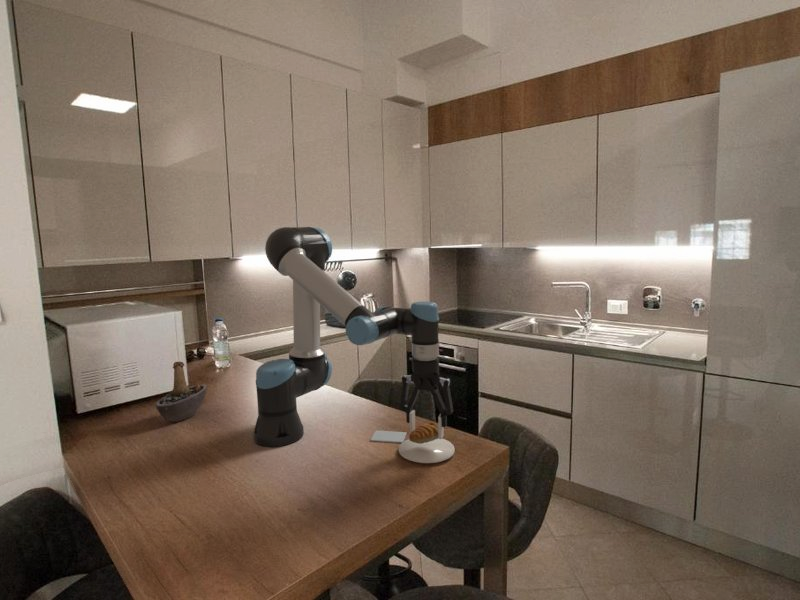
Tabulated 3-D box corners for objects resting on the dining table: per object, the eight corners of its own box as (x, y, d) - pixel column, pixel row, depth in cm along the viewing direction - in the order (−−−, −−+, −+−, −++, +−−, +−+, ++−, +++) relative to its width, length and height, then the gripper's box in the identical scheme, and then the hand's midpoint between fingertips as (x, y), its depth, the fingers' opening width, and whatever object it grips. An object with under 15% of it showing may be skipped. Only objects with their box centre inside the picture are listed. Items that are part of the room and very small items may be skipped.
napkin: (370, 441, 144) (370, 439, 144) (375, 431, 151) (375, 430, 151) (402, 443, 143) (402, 441, 142) (406, 433, 149) (406, 432, 149)
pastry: (420, 447, 129) (420, 434, 129) (403, 440, 134) (402, 427, 134) (443, 437, 136) (442, 424, 135) (425, 430, 141) (425, 418, 140)
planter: (208, 406, 176) (204, 354, 173) (205, 423, 160) (200, 365, 158) (164, 412, 171) (159, 358, 169) (156, 430, 156) (151, 370, 153)
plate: (390, 460, 132) (390, 456, 132) (409, 437, 147) (409, 433, 146) (446, 469, 126) (446, 465, 126) (460, 444, 141) (460, 440, 141)
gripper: (386, 358, 133) (388, 436, 136) (458, 363, 125) (459, 445, 129) (395, 351, 140) (397, 425, 143) (464, 356, 132) (465, 434, 136)
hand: (426, 435), depth 136 cm, fingers closed on pastry, 8 cm apart
